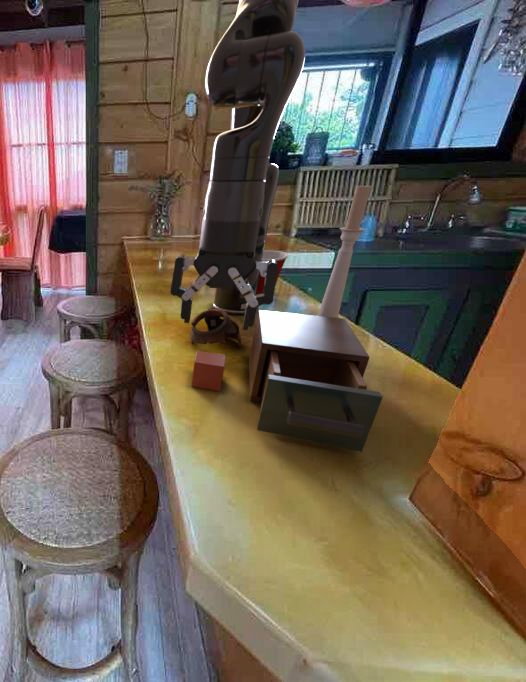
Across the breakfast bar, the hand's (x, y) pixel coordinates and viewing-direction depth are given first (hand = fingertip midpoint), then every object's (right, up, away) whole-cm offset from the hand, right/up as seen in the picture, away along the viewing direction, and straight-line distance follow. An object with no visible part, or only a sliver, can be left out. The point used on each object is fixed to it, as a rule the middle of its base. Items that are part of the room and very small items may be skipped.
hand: (215, 324), depth 58 cm
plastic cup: (+29, +9, +45) cm, 54 cm away
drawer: (+9, -13, -7) cm, 18 cm away
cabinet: (+14, -10, +3) cm, 17 cm away
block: (0, -9, +4) cm, 10 cm away
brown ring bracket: (+7, -3, +19) cm, 20 cm away
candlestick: (+26, -4, +14) cm, 30 cm away
